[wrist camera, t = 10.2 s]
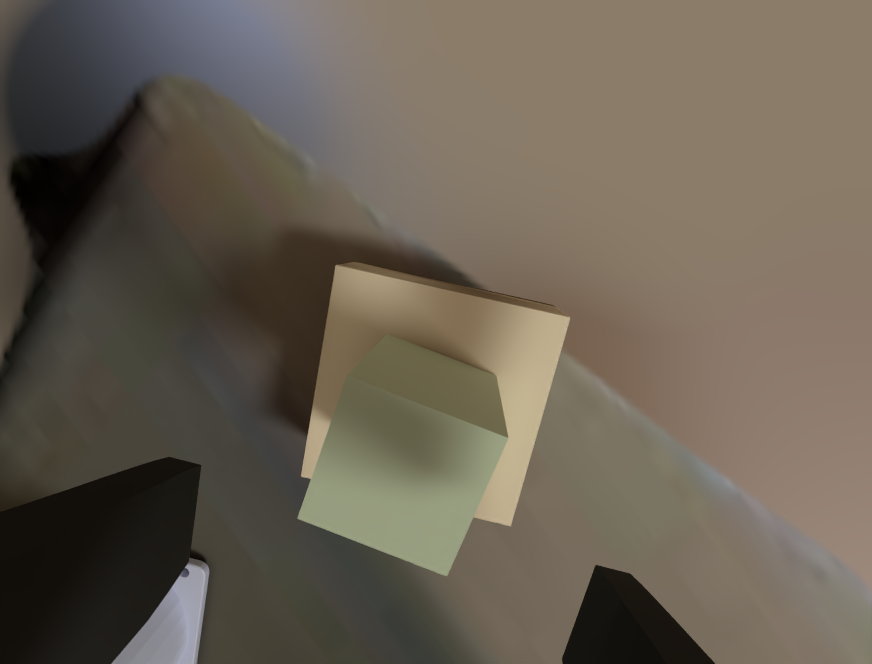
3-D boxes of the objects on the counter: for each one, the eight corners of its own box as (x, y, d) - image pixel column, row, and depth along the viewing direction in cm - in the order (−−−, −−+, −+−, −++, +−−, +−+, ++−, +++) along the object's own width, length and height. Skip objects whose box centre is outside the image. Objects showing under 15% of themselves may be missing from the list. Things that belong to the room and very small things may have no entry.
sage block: (351, 434, 16) (297, 518, 11) (387, 333, 15) (346, 375, 10) (454, 474, 16) (446, 576, 11) (496, 375, 15) (508, 438, 10)
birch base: (326, 440, 19) (300, 476, 16) (357, 261, 18) (335, 264, 15) (504, 482, 19) (510, 526, 16) (553, 305, 17) (570, 317, 14)
